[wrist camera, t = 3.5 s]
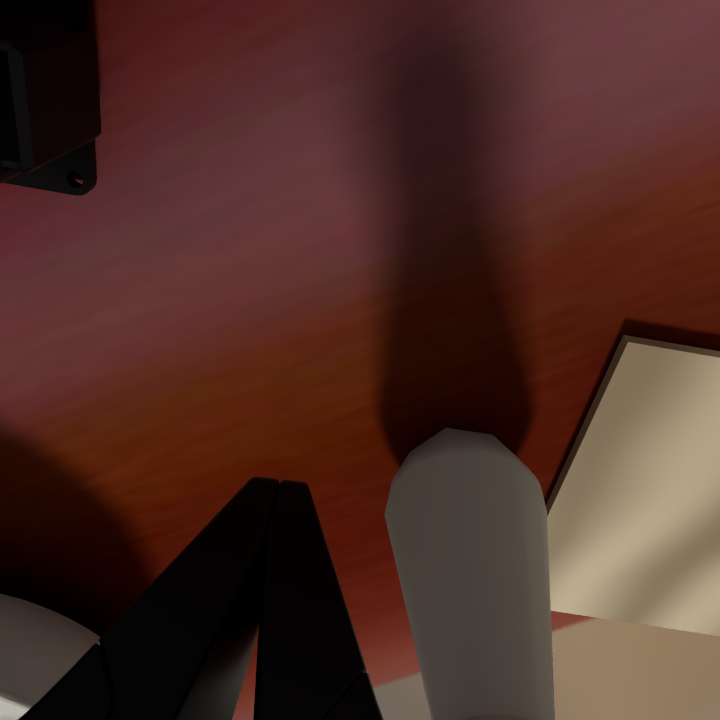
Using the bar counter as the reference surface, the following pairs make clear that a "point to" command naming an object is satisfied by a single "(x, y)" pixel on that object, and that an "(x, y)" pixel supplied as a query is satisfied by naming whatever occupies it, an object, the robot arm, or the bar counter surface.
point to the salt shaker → (475, 577)
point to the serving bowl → (35, 652)
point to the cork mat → (643, 494)
